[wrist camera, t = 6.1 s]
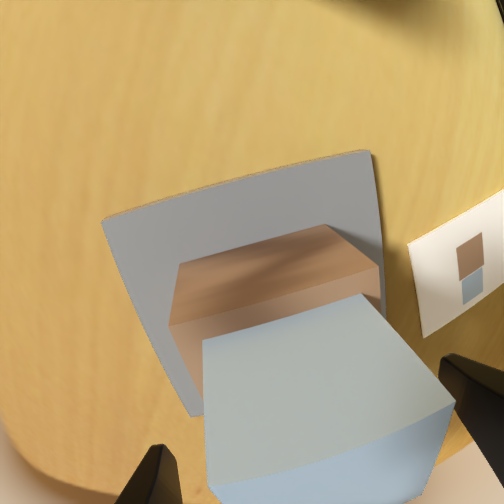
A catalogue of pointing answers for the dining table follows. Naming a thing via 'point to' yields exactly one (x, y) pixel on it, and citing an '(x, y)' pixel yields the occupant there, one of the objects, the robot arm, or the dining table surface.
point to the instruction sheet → (459, 263)
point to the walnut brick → (264, 287)
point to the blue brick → (320, 411)
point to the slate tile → (237, 235)
